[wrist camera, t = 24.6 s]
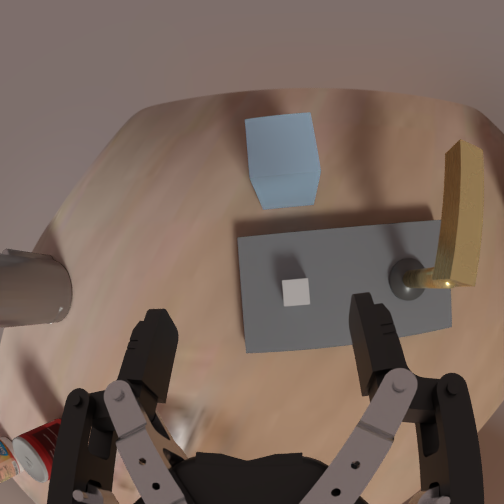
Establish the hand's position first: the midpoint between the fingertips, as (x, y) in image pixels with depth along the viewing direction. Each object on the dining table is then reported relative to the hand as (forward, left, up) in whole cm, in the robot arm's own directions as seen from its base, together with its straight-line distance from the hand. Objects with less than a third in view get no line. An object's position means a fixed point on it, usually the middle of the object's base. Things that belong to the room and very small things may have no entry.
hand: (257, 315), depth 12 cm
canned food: (-1, -42, -19) cm, 46 cm away
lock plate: (+4, +7, -19) cm, 21 cm away
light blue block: (-9, +9, -19) cm, 23 cm away
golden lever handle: (+5, +15, -16) cm, 23 cm away
